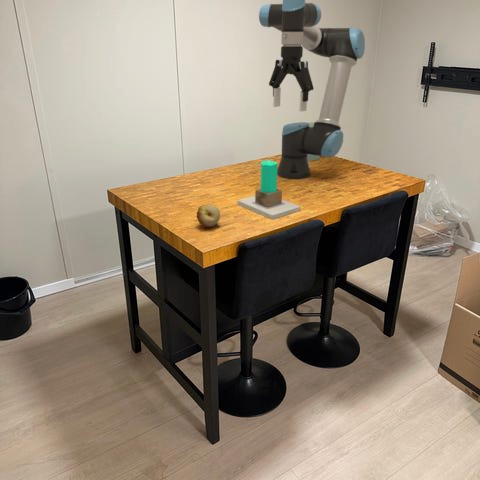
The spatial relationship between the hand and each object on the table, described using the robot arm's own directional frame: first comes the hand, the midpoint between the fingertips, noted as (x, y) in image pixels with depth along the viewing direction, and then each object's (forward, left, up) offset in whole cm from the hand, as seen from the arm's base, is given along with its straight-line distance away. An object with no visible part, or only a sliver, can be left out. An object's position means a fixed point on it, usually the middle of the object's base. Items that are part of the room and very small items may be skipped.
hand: (289, 108), depth 169 cm
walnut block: (+3, -12, -33) cm, 35 cm away
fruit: (+4, -40, -35) cm, 53 cm away
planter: (-37, +51, -35) cm, 72 cm away
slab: (+3, -12, -35) cm, 37 cm away
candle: (+3, -12, -28) cm, 31 cm away
